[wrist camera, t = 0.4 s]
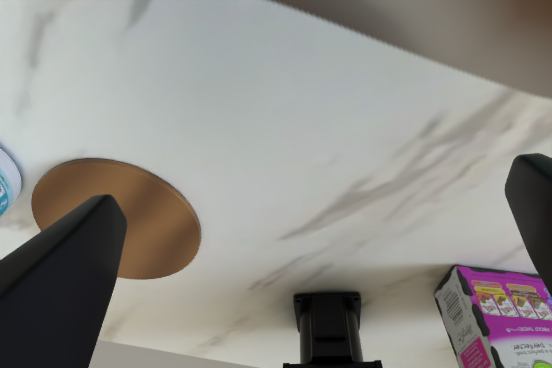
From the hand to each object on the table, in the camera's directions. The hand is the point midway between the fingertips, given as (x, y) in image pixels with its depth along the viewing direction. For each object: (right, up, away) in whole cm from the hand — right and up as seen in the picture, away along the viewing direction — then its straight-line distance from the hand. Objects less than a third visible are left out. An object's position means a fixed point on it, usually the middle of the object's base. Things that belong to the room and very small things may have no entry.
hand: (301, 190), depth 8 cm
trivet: (-14, -3, +22) cm, 26 cm away
